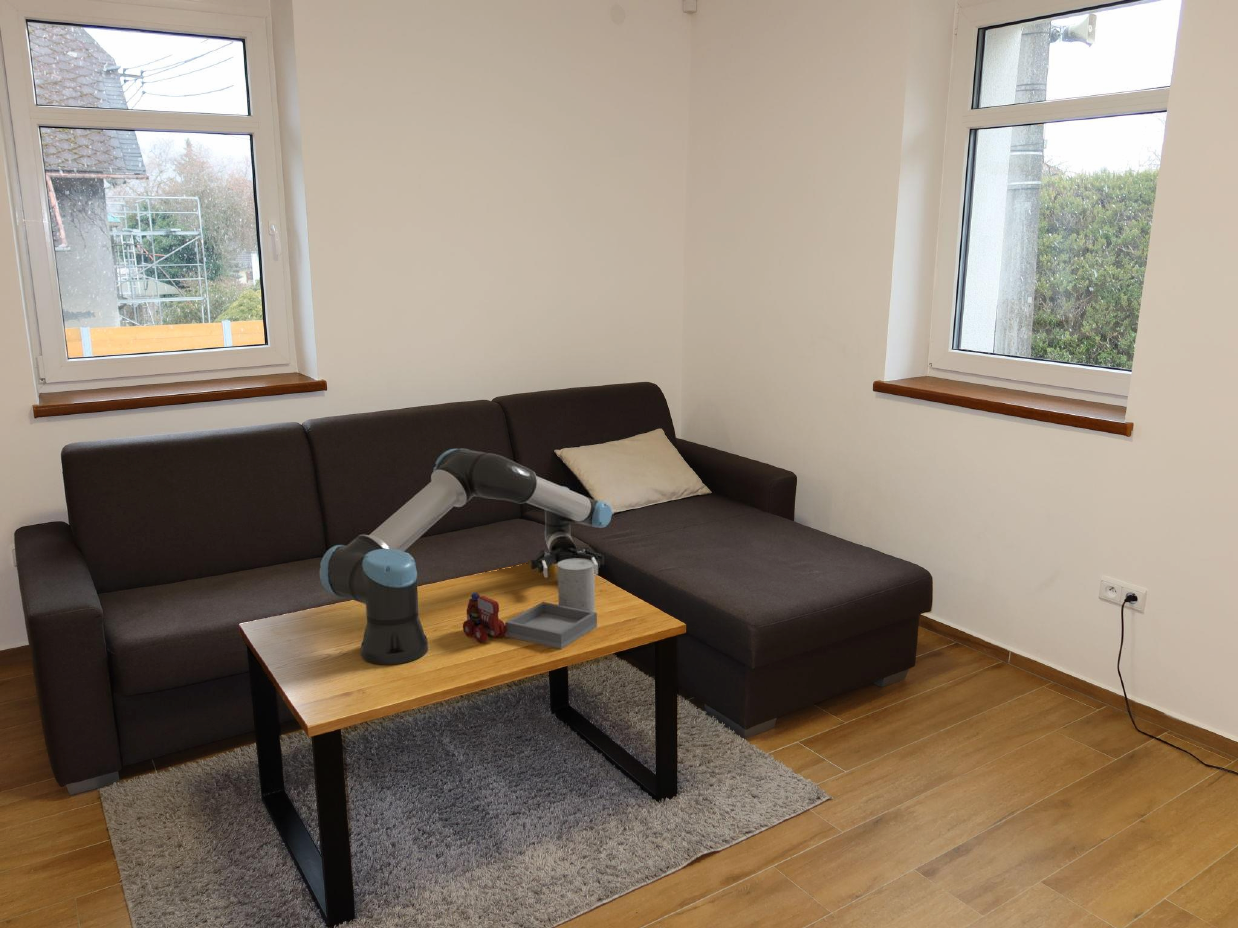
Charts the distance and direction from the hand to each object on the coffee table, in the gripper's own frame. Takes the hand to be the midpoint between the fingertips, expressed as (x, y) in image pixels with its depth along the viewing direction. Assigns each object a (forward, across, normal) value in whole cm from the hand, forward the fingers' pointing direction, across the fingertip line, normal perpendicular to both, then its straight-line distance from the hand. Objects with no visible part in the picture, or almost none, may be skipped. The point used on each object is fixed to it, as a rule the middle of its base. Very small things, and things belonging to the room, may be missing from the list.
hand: (571, 571), depth 260 cm
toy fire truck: (+23, +24, -7) cm, 35 cm away
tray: (+24, +8, -7) cm, 26 cm away
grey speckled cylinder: (+10, 0, -7) cm, 12 cm away
